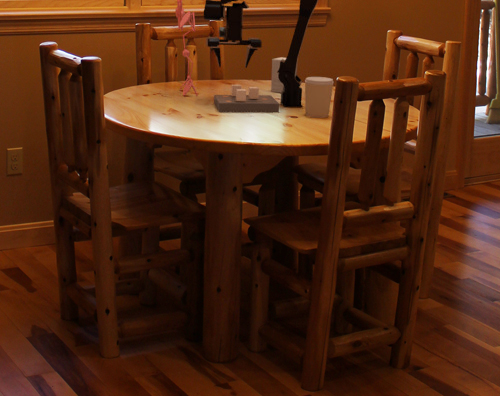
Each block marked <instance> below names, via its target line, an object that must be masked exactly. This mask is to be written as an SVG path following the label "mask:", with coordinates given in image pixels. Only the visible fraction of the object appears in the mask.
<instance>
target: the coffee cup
mask: <svg viewBox="0 0 500 396" xmlns="http://www.w3.org/2000/svg"><path fill="white" fill-rule="evenodd" d="M304 83H305V84H304V85H305V86H304V112H305V114H304V115H305V116H307V117H310V118H319V119H320V118H321V119H322V118H328V117H329V114H330V109H331V102H332V101H331V100H332V96H333V90H334V89H333V88H334V83H335V82H334V79H333V78H330V77H323V76H308V77H306V78H305V80H304Z"/></svg>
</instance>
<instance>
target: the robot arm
mask: <svg viewBox="0 0 500 396" xmlns="http://www.w3.org/2000/svg"><path fill="white" fill-rule="evenodd" d="M237 1H239V0H205V4H204V9H203V19H204V21H218V22H221V21H223V19H225V27H223V26H220V27H219V28H218V36H207V37H205V38H206V39H205V45H206V47H209V49H211V50H212V51H213V52H214V54H215V57H216V62H217V65H218V67H219V68H221V66H222V65H221V64H222V59H221V48H220V47H219V46H220V45H221V46H222V45H223V46H226V45H227V46H246V55H245V62H244V69H245V68H246V69H247V68H248V65H249V63H250V61H251V59H252V57H253V55H254V53H255V52H256V51H258V49H260V48H261V49H262V40H261V39H260V38H258V37H248V38H247V39H243V28H244V27H243V25H244V24H243V20H244V9H245V10H246V9H249V8H250V6H249V5H248V4H247V2H246V0H243V1H242V2H237ZM230 3H232V5H226V4H230ZM318 3H319V0H299V6H298V7H299V9H298V10H299V11H298V18H297V22H296V25H295V28H294V32H293V35H292V39H291V42H290V45H289V49H288V52H287V56H286V57H285V58H286V60H283V59H282V60H281V61H280V67H279V70H278V71H277V73H279V74H278V78H279V80H280V82H281V83H283V85H284V87H283V91H281V93H280V104H281V105H282V106H283V107H288V108H303V105H302V98H303V88H302V87H301V86H302V83H303V80H302V79H301V77H299V75H297V72H298V64H299V57H300V52H301V48H302V46H303V42H304V39H305V36H306V32H307V29H308V25H309V22H310V19H311V17H312V15H313V13H314V11H315V9H316V7H317V5H318ZM220 38H223V39H220Z"/></svg>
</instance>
